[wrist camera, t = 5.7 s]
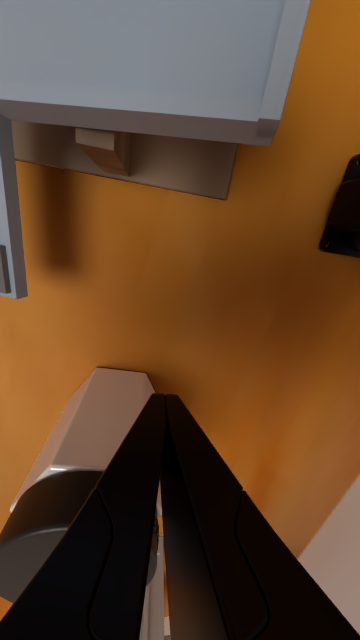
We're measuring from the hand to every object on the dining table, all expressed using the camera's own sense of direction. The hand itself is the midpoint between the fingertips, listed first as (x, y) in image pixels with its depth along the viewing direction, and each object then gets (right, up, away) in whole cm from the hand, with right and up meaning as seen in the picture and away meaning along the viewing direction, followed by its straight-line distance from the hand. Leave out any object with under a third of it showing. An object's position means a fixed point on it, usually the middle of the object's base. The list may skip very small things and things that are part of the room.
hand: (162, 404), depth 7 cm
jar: (-6, -5, +15) cm, 17 cm away
